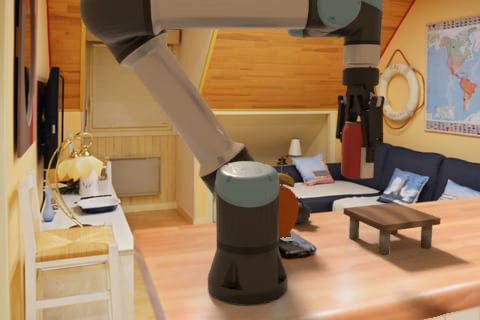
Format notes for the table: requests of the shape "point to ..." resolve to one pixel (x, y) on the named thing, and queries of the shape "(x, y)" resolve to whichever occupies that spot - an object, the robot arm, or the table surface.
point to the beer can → (352, 150)
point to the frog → (303, 211)
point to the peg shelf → (391, 222)
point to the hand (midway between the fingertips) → (356, 174)
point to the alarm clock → (286, 206)
